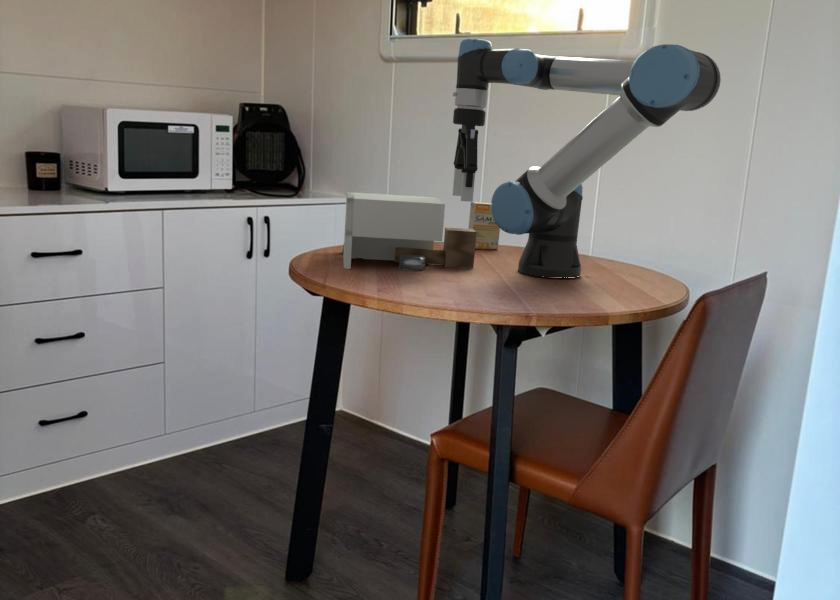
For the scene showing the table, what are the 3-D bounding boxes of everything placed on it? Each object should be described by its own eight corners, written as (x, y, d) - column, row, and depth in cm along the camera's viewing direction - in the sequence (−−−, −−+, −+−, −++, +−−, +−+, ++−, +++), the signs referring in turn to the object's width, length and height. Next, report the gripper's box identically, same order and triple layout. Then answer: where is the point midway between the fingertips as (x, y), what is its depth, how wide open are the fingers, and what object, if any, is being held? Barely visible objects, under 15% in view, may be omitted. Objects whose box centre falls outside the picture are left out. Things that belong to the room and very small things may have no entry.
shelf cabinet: (431, 261, 199) (436, 197, 195) (439, 273, 183) (445, 204, 180) (343, 257, 196) (346, 191, 193) (343, 268, 181) (347, 198, 177)
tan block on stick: (470, 264, 199) (473, 229, 197) (473, 268, 194) (476, 231, 192) (394, 260, 196) (396, 224, 194) (395, 264, 191) (398, 227, 190)
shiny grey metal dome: (423, 267, 191) (423, 255, 190) (425, 272, 185) (426, 259, 184) (398, 266, 190) (398, 253, 189) (400, 270, 184) (400, 258, 184)
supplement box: (470, 249, 225) (474, 202, 222) (466, 246, 230) (470, 201, 227) (498, 250, 227) (503, 204, 224) (493, 247, 231) (497, 202, 228)
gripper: (447, 107, 199) (440, 192, 204) (462, 106, 175) (454, 202, 180) (476, 110, 200) (469, 194, 205) (495, 109, 176) (486, 204, 181)
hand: (462, 198), depth 192 cm, fingers open, 13 cm apart
